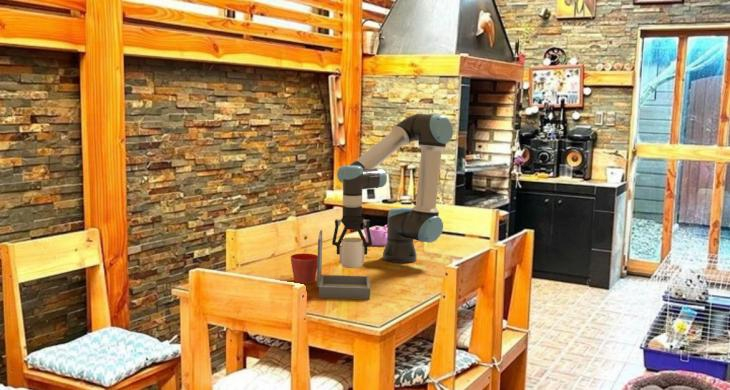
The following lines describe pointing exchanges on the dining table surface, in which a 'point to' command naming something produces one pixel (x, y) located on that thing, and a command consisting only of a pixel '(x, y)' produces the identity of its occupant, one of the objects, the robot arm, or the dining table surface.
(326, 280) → the case
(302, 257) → the flower pot
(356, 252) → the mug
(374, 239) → the pink toy pig
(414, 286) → the dining table surface
